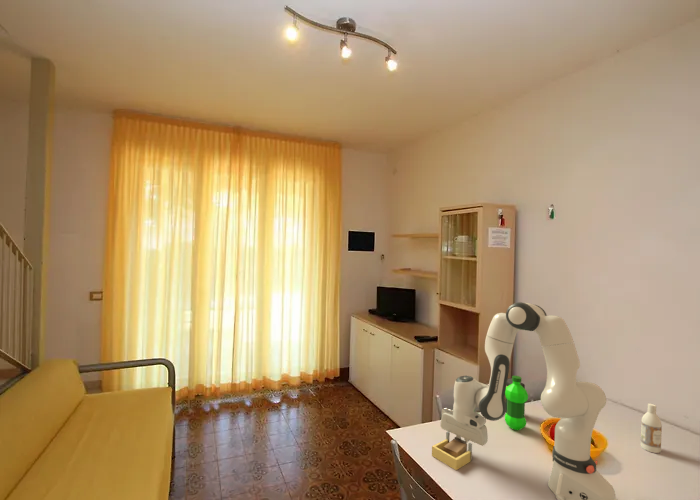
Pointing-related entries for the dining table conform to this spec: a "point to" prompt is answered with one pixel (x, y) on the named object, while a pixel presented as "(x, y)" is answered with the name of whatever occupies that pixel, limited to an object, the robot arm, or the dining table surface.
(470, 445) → the bay
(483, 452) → the dining table surface
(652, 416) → the bath foam
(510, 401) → the plastic bottle
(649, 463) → the dining table surface
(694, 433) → the dining table surface
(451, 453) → the small brown box
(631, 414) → the dining table surface
